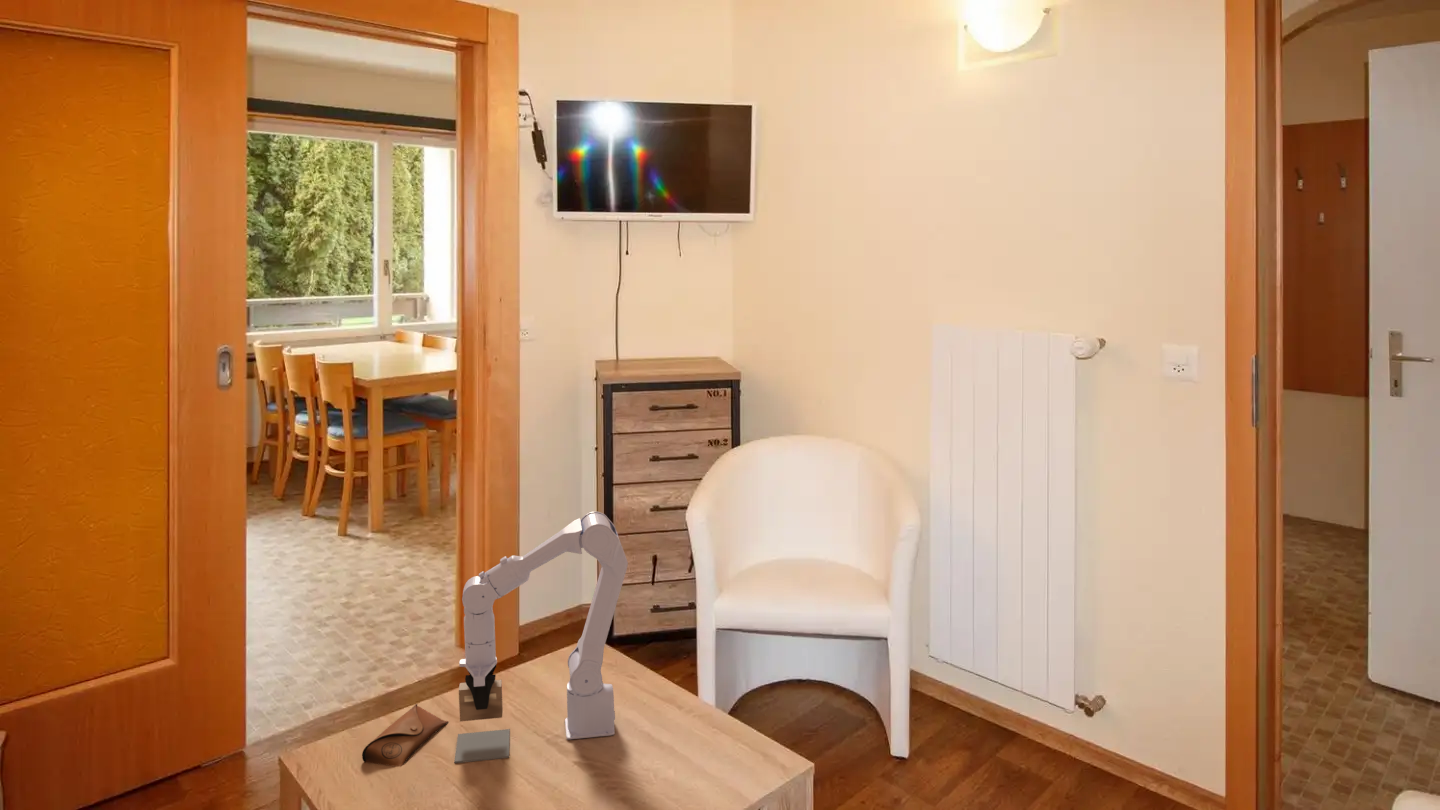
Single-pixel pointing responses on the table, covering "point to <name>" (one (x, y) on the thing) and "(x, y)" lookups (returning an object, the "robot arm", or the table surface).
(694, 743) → the table surface
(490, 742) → the felt mat
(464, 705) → the brown rectangular block
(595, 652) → the robot arm
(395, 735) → the sunglasses case
